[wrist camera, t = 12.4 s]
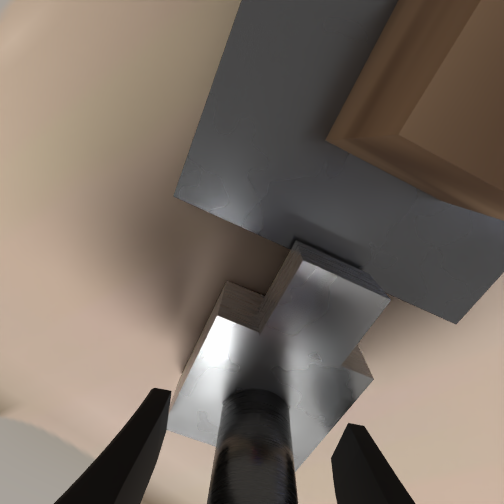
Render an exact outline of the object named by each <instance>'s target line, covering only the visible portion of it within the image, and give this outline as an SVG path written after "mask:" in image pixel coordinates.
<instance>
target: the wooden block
mask: <svg viewBox="0 0 504 504" xmlns="http://www.w3.org/2000/svg"><path fill="white" fill-rule="evenodd" d="M325 141H327V142H329V143H331V144H333V145H335V146H337V147H339V148H341V149H343V150H344V151H346V152H348V153H350V154H352V155H354V156H356V157H358V158H360V159H362V160H364V161H366V162H368V163H369V164H371V165H373V166H375V167H377V168H379V169H381V170H383V171H385V172H387V173H389V174H391V175H392V176H394V177H396V178H398V179H400V180H402V181H404V182H406V183H408V184H410V185H412V186H414V187H416V188H417V189H419V190H421V191H423V192H425V193H427V194H429V195H431V196H433V197H435V198H437V199H439V200H440V201H443V202H446V203H449V204H452V205H455V206H459V207H462V208H465V209H468V210H471V211H475V212H478V213H481V214H484V215H487V216H490V217H494V218H497V219H500V220H503V221H504V0H398V2H397V4H396V6H395V8H394V10H393V12H392V14H391V16H390V18H389V20H388V21H387V23H386V25H385V27H384V29H383V31H382V33H381V35H380V37H379V39H378V41H377V42H376V44H375V46H374V48H373V50H372V52H371V54H370V56H369V58H368V60H367V61H366V63H365V65H364V67H363V69H362V71H361V73H360V75H359V77H358V79H357V81H356V82H355V84H354V86H353V88H352V90H351V92H350V94H349V96H348V98H347V100H346V102H345V103H344V105H343V107H342V109H341V111H340V113H339V115H338V117H337V119H336V121H335V122H334V124H333V126H332V128H331V130H330V132H329V134H328V136H327V138H326V140H325Z"/></svg>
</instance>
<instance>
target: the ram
mask: <svg viewBox="0 0 504 504" xmlns="http://www.w3.org/2000/svg"><path fill="white" fill-rule="evenodd" d="M390 301H391V299H390V298H389V297H388V296H387V295H386V293H385V292H384V291H383V290H382V288H381V287H380V286H379V285H378V284H377V282H376V281H375V280H374V279H373V278H372V276H371V275H370V274H369V273H367V272H364V271H362V270H360V269H358V268H356V267H353V266H351V265H349V264H347V263H345V262H343V261H340V260H338V259H336V258H334V257H332V256H330V255H327V254H325V253H323V252H321V251H319V250H316V249H314V248H312V247H310V246H308V245H306V244H303V243H301V242H299V241H297V240H296V241H295V243H294V245H293V247H292V249H291V250H290V252H289V254H288V256H287V258H286V259H285V261H284V263H283V265H282V267H281V268H280V270H279V272H278V274H277V276H276V277H275V279H274V281H273V283H272V285H271V286H270V288H269V290H268V292H267V294H266V295H265V296H263V295H260V294H258V293H256V292H253V291H251V290H248V289H246V288H244V287H241V286H239V285H237V284H234V283H232V282H230V281H226V283H225V285H224V288H223V290H222V292H221V294H220V296H219V298H218V300H217V302H216V304H215V306H214V308H213V310H212V312H211V315H210V317H209V319H208V321H207V323H206V325H205V327H204V329H203V331H202V333H201V335H200V337H199V340H198V342H197V344H196V346H195V348H194V350H193V352H192V354H191V356H190V358H189V360H188V362H187V365H186V367H185V369H184V371H183V373H182V375H181V377H180V379H179V382H178V385H177V388H176V390H175V393H174V396H173V399H172V401H171V404H170V407H169V415H168V423H167V430H169V431H172V432H174V433H177V434H180V435H183V436H186V437H189V438H192V439H195V440H198V441H201V442H204V443H207V444H210V445H212V446H215V447H216V450H215V456H214V462H213V469H212V475H211V481H210V488H209V494H208V500H207V504H298V499H297V488H296V478H295V472H296V470H297V469H298V468H299V467H300V466H301V464H302V463H303V462H304V461H305V460H306V459H307V457H308V456H309V455H310V454H311V453H312V451H313V450H314V449H315V448H316V447H317V446H318V444H319V443H320V442H321V441H322V440H323V439H324V437H325V436H326V435H327V434H328V433H329V431H330V430H331V429H332V428H333V427H334V426H335V424H336V423H337V422H338V421H339V420H340V419H341V417H342V416H343V415H344V414H345V413H346V411H347V410H348V409H349V408H350V407H351V406H352V404H353V403H354V402H355V401H356V400H357V398H358V397H359V396H360V395H361V394H362V393H363V391H364V390H365V389H366V388H367V387H368V386H369V384H370V383H371V382H372V381H373V380H374V378H373V376H372V374H371V372H370V370H369V368H368V366H367V364H366V361H365V359H364V357H363V355H362V353H361V351H360V349H359V347H358V343H359V341H360V340H361V339H362V337H363V336H364V335H365V333H366V332H367V331H368V329H369V328H370V327H371V326H372V324H373V323H374V322H375V320H376V319H377V318H378V316H379V315H380V314H381V313H382V311H383V310H384V309H385V307H386V306H387V305H388V303H389V302H390Z"/></svg>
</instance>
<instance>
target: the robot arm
mask: <svg viewBox="0 0 504 504" xmlns="http://www.w3.org/2000/svg"><path fill="white" fill-rule="evenodd" d="M170 399H171V391H169V390H164V389H158V388H154V389H152V390H151V391H150V392H149V394H148V395H147V397H146V398H145V400H144V401H143V403H142V404H141V405H140V407H139V408H138V409H137V411H136V412H135V413H134V415H133V416H132V417H131V418H130V420H129V421H128V422H127V423H126V425H125V426H124V427H123V428H122V429H121V431H120V432H119V433H118V434H117V435H116V437H115V438H114V439H113V440H112V441H111V443H110V444H109V445H108V446H107V447H106V448H105V450H104V451H103V452H102V453H101V454H100V455H99V456H98V457H97V459H96V460H95V461H94V462H93V463H92V464H91V465H90V466H89V467H88V468H87V470H86V471H85V472H84V473H83V474H82V475H81V476H80V477H79V478H78V479H77V480H76V481H75V482H74V483H73V484H72V486H71V487H70V488H69V489H68V490H67V491H66V492H65V493H64V494H63V495H62V496H61V497H60V498H59V499H58V500H57V501H56V502H55V503H54V504H140V503H141V500H142V498H143V495H144V493H145V490H146V488H147V485H148V483H149V480H150V478H151V475H152V473H153V470H154V468H155V465H156V462H157V459H158V456H159V453H160V450H161V446H162V443H163V440H164V436H165V433H166V430H167V423H168V415H169V407H170ZM331 462H332V471H333V480H334V487H335V494H336V499H337V504H415V502H414V501H413V499H412V498H411V497H410V495H409V494H408V492H407V491H406V489H405V488H404V486H403V485H402V483H401V482H400V480H399V479H398V477H397V476H396V474H395V473H394V471H393V470H392V468H391V467H390V465H389V464H388V462H387V460H386V459H385V457H384V456H383V454H382V453H381V451H380V450H379V448H378V447H377V445H376V443H375V442H374V440H373V439H372V437H371V436H370V434H369V433H368V431H367V430H366V428H365V427H364V426H361V425H356V424H350V423H348V424H347V427H346V429H345V431H344V433H343V435H342V437H341V439H340V441H339V443H338V445H337V447H336V449H335V451H334V453H333V455H332V457H331Z"/></svg>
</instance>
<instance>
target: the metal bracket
mask: <svg viewBox="0 0 504 504" xmlns="http://www.w3.org/2000/svg"><path fill="white" fill-rule="evenodd" d="M397 2H398V0H242V1H241V4H240V7H239V9H238V12H237V15H236V18H235V21H234V24H233V27H232V30H231V32H230V35H229V38H228V41H227V44H226V47H225V50H224V52H223V55H222V58H221V61H220V64H219V67H218V70H217V73H216V75H215V78H214V81H213V84H212V87H211V90H210V93H209V96H208V98H207V101H206V104H205V107H204V110H203V113H202V116H201V118H200V121H199V124H198V127H197V130H196V133H195V136H194V139H193V141H192V144H191V147H190V150H189V153H188V156H187V159H186V162H185V164H184V167H183V170H182V173H181V176H180V179H179V182H178V184H177V187H176V190H175V193H174V197H176V198H178V199H180V200H182V201H185V202H187V203H189V204H191V205H194V206H196V207H198V208H200V209H202V210H205V211H207V212H209V213H211V214H213V215H216V216H218V217H220V218H222V219H224V220H227V221H229V222H231V223H233V224H235V225H238V226H240V227H242V228H244V229H246V230H249V231H251V232H253V233H255V234H258V235H260V236H262V237H264V238H266V239H269V240H271V241H273V242H275V243H277V244H280V245H282V246H284V247H286V248H288V249H292V247H293V245H294V243H295V241H296V240H297V241H299V242H301V243H303V244H306V245H308V246H310V247H312V248H314V249H316V250H319V251H321V252H323V253H325V254H327V255H330V256H332V257H334V258H336V259H338V260H340V261H343V262H345V263H347V264H349V265H351V266H353V267H356V268H358V269H360V270H362V271H364V272H367V273H369V274H370V275H371V276H372V278H373V279H374V280H375V281H376V282H377V284H378V285H379V286H380V287H381V288H382V290H383V291H384V292H386V293H388V294H390V295H392V296H394V297H397V298H399V299H401V300H403V301H405V302H408V303H410V304H412V305H414V306H416V307H419V308H421V309H423V310H425V311H427V312H430V313H432V314H434V315H436V316H438V317H441V318H443V319H445V320H447V321H450V322H452V323H454V324H457V323H458V322H459V321H460V320H461V319H462V317H463V316H464V315H465V314H466V313H467V312H468V311H469V310H470V309H471V308H472V306H473V305H474V304H475V303H476V302H477V301H478V300H479V299H480V298H481V297H482V295H483V294H484V293H485V292H486V291H487V290H488V289H489V288H490V287H491V286H492V284H493V283H494V282H495V281H496V280H497V279H498V278H499V277H500V276H501V275H502V273H503V272H504V221H503V220H500V219H497V218H494V217H490V216H487V215H484V214H481V213H478V212H475V211H471V210H468V209H465V208H462V207H459V206H455V205H452V204H449V203H446V202H443V201H440V200H439V199H437V198H435V197H433V196H431V195H429V194H427V193H425V192H423V191H421V190H419V189H417V188H416V187H414V186H412V185H410V184H408V183H406V182H404V181H402V180H400V179H398V178H396V177H394V176H392V175H391V174H389V173H387V172H385V171H383V170H381V169H379V168H377V167H375V166H373V165H371V164H369V163H368V162H366V161H364V160H362V159H360V158H358V157H356V156H354V155H352V154H350V153H348V152H346V151H344V150H343V149H341V148H339V147H337V146H335V145H333V144H331V143H329V142H327V141H325V140H326V138H327V136H328V134H329V132H330V130H331V128H332V126H333V124H334V122H335V121H336V119H337V117H338V115H339V113H340V111H341V109H342V107H343V105H344V103H345V102H346V100H347V98H348V96H349V94H350V92H351V90H352V88H353V86H354V84H355V82H356V81H357V79H358V77H359V75H360V73H361V71H362V69H363V67H364V65H365V63H366V61H367V60H368V58H369V56H370V54H371V52H372V50H373V48H374V46H375V44H376V42H377V41H378V39H379V37H380V35H381V33H382V31H383V29H384V27H385V25H386V23H387V21H388V20H389V18H390V16H391V14H392V12H393V10H394V8H395V6H396V4H397Z"/></svg>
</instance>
